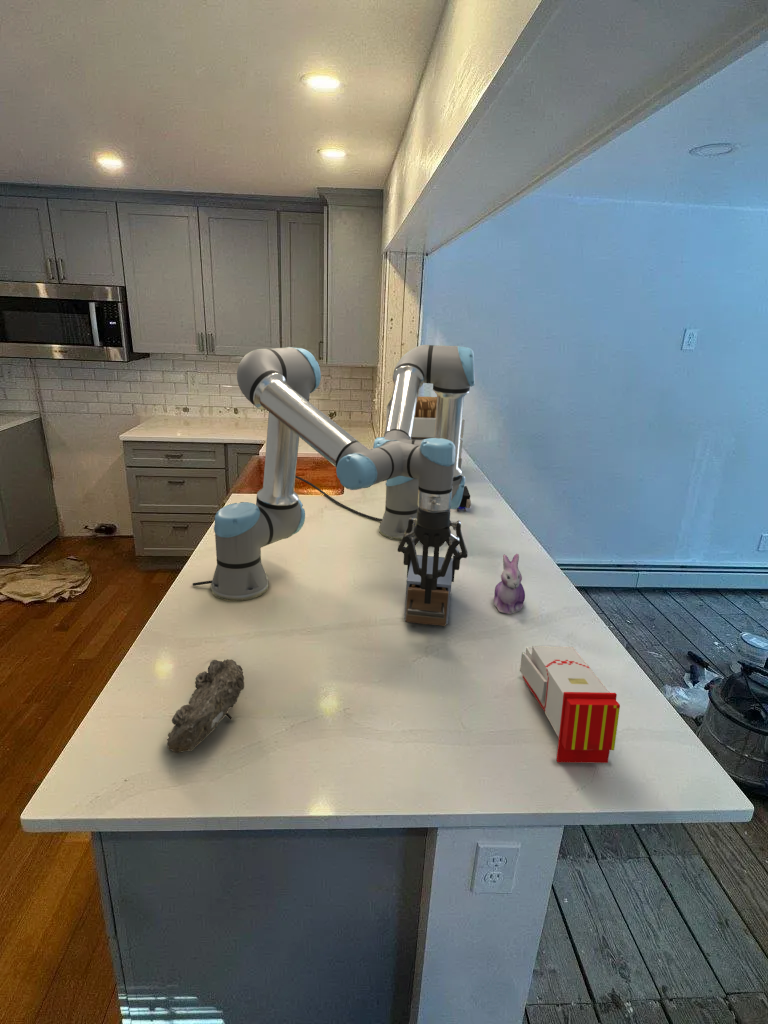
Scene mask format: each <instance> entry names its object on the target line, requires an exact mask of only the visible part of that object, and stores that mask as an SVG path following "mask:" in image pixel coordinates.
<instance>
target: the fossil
mask: <svg viewBox="0 0 768 1024" xmlns="http://www.w3.org/2000/svg"><path fill="white" fill-rule="evenodd" d="M243 670H244V669H243V667H242V665H240V664H237V662H236V661H235V660H234V659H232V658H231V659H227V658H226V659H224V660H223V661H222V660H217V659H212V660H211V661H210V663H209V665H208V666H207V671H201V672H199V673H198V674H197V675H196V676H195V680H194V684H195V685H194V687H195V689H194V690H193V693H192V694H191V697H190V698H189V700H188V704H184V705H182V706H181V707H180V709H177V710H176V711H175V713H174V715H173V716H172V718H171V723H172V724H173V727H172V730H171V731H170V732H168V734H167V738H166V741H167V742H166V745H167V749H168V750H169V751H173V752H174V753H176V754H178V753H182V752H188V751H189V752H192V751H193V750H195V748H196V747H197V746H199V744H200V743H201V742H203V741H204V740H205V739H206V738H207V737H208V736H209V735H210V734H211V733H212V732H214V730H215V729H217V727H218V726H219V724H220V722H221V721H222V720H223V719H224V718H225V716H226V717H227V719H229V720H233V717H232V715H230V714H229V710H230V709H231V708H234V706H235V704H236V703H237V702H238V699H239V697H240V695H241V693H242V691H243V690H245V689H244V688H245V675H244V671H243Z"/></svg>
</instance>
